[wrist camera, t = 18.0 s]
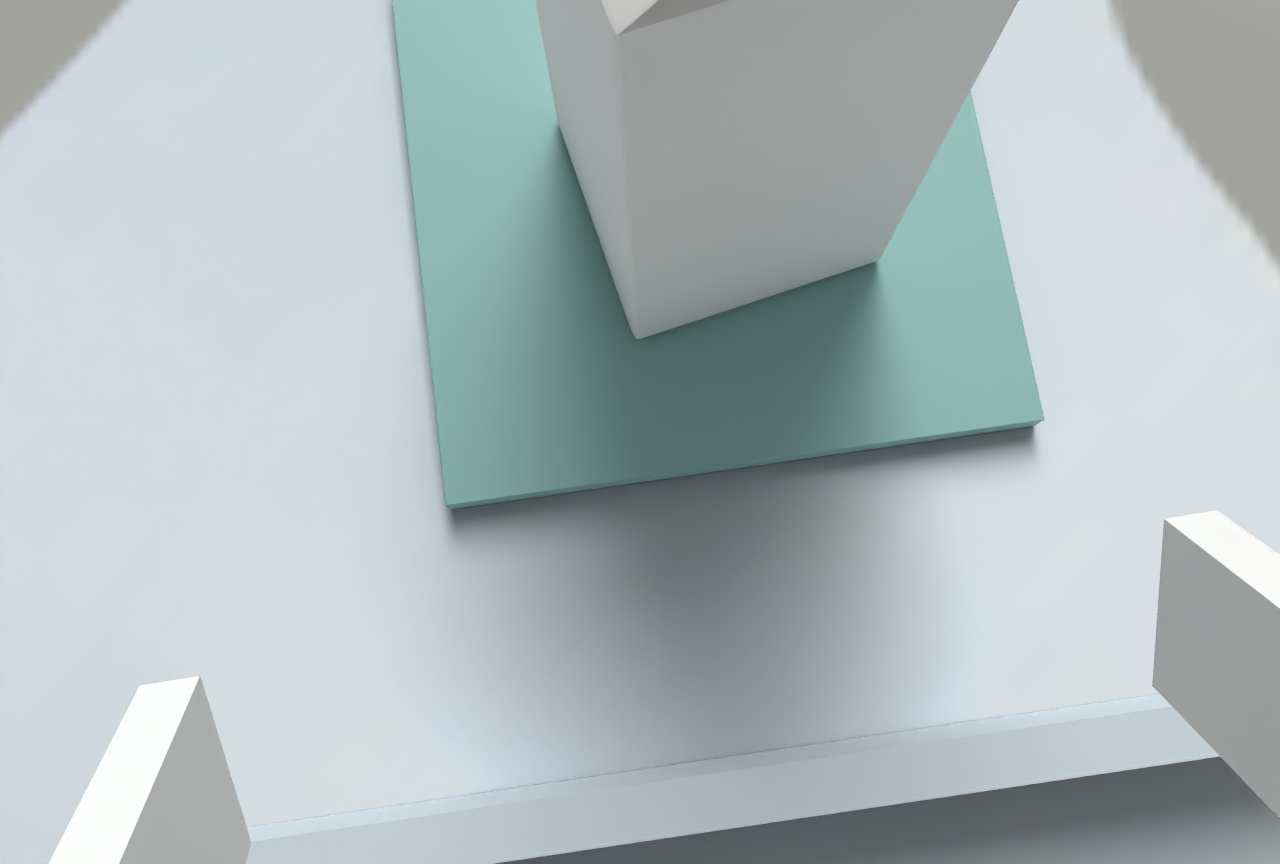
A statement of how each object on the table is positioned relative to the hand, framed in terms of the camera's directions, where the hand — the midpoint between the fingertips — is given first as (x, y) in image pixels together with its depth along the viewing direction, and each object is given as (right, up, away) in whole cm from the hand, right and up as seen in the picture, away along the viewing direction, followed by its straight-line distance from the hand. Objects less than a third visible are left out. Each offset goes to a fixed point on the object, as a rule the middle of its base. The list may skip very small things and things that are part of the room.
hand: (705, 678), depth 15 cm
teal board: (+1, +10, +17) cm, 20 cm away
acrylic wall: (+2, -5, +13) cm, 15 cm away
